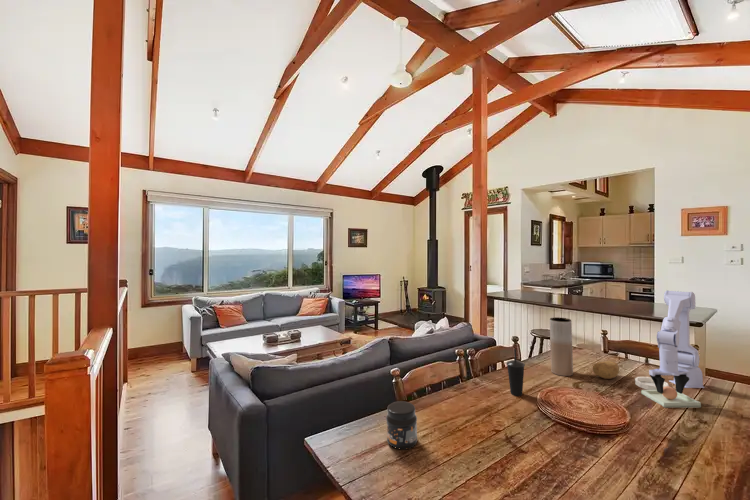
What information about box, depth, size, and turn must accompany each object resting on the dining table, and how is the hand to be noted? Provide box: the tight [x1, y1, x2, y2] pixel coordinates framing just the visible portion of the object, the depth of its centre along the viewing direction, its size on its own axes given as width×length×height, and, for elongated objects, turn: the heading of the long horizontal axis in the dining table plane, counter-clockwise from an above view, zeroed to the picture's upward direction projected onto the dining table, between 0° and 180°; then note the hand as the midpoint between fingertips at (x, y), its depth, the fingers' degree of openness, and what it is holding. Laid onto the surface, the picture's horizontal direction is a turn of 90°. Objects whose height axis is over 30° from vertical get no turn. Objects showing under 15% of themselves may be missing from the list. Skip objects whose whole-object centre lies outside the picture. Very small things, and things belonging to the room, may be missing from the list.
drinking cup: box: [506, 348, 526, 397], centre depth 148 cm, size 8×8×20 cm
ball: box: [662, 385, 677, 399], centre depth 138 cm, size 5×5×5 cm
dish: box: [634, 376, 670, 390], centre depth 151 cm, size 12×12×2 cm
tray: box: [641, 389, 702, 409], centre depth 138 cm, size 14×12×2 cm
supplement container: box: [385, 400, 418, 450], centre depth 114 cm, size 10×10×12 cm
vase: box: [549, 316, 574, 377], centre depth 171 cm, size 10×10×28 cm
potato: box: [592, 360, 620, 380], centre depth 163 cm, size 10×14×8 cm
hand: (669, 392), depth 138 cm, fingers open, 7 cm apart
